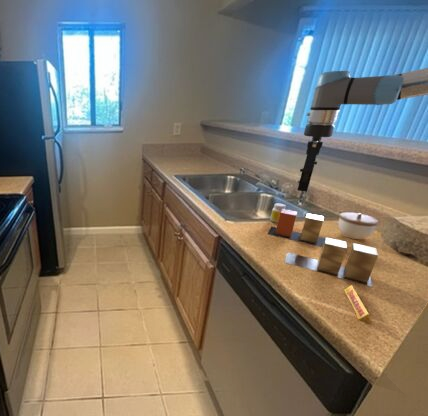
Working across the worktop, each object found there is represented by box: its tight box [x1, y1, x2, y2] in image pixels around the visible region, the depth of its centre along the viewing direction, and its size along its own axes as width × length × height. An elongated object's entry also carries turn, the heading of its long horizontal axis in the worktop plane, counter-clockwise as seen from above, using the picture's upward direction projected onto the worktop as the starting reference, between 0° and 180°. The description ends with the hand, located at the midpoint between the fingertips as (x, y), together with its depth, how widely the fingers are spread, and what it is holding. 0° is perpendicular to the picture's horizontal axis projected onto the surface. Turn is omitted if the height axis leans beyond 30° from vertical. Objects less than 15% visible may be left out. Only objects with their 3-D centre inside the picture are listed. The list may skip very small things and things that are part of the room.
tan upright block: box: [317, 236, 348, 275], centre depth 83 cm, size 5×5×9 cm
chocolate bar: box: [343, 284, 373, 324], centre depth 70 cm, size 3×12×2 cm, turn 154°
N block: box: [344, 242, 379, 283], centre depth 80 cm, size 5×5×9 cm
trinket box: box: [337, 212, 379, 240], centre depth 103 cm, size 11×11×9 cm
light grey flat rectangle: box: [284, 252, 373, 288], centre depth 85 cm, size 21×8×1 cm, turn 51°
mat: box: [267, 225, 326, 248], centre depth 105 cm, size 18×9×1 cm, turn 51°
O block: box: [300, 213, 325, 243], centre depth 101 cm, size 5×5×9 cm
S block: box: [276, 208, 298, 237], centre depth 106 cm, size 5×5×9 cm
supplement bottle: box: [269, 202, 286, 226], centre depth 116 cm, size 5×5×8 cm
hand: (303, 186), depth 97 cm, fingers open, 13 cm apart
